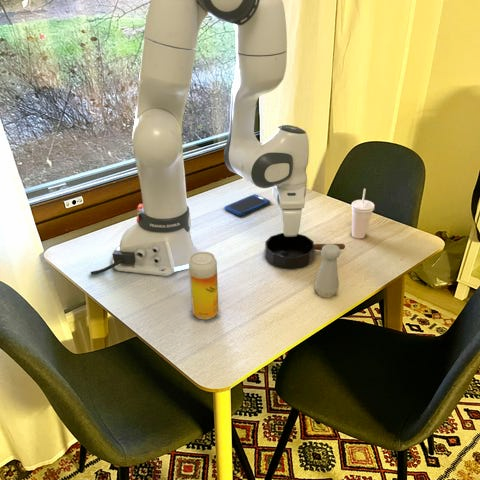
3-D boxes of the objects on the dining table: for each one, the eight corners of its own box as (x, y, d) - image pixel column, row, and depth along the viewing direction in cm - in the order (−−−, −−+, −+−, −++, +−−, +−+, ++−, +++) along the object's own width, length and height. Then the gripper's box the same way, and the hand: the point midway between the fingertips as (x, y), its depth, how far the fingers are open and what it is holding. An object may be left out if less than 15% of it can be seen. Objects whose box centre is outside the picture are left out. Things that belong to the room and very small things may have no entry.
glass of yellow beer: (220, 319, 119) (218, 263, 110) (194, 322, 118) (190, 266, 109) (216, 303, 124) (213, 249, 114) (190, 307, 123) (186, 252, 114)
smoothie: (367, 229, 152) (374, 184, 144) (371, 240, 147) (379, 194, 139) (345, 230, 152) (351, 185, 143) (349, 241, 147) (356, 195, 138)
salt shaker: (336, 301, 124) (343, 254, 116) (312, 298, 125) (317, 252, 117) (338, 287, 129) (344, 241, 121) (315, 285, 130) (319, 239, 122)
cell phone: (270, 202, 166) (270, 200, 166) (239, 216, 159) (239, 214, 158) (254, 195, 171) (254, 193, 170) (223, 209, 163) (223, 206, 163)
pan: (266, 269, 136) (266, 257, 133) (263, 244, 146) (264, 233, 144) (348, 268, 136) (349, 256, 134) (339, 243, 146) (341, 232, 144)
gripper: (275, 173, 145) (273, 218, 154) (280, 205, 129) (278, 253, 138) (297, 173, 145) (295, 217, 154) (305, 205, 129) (302, 253, 138)
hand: (287, 235), depth 146 cm, fingers closed
